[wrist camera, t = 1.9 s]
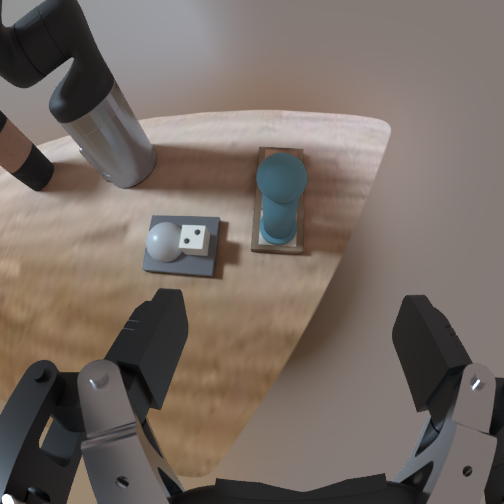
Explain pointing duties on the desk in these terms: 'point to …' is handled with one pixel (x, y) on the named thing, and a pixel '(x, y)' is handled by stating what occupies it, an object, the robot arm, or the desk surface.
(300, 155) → the track board
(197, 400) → the desk surface
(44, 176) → the travel mug
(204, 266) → the die tray
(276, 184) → the pawn
